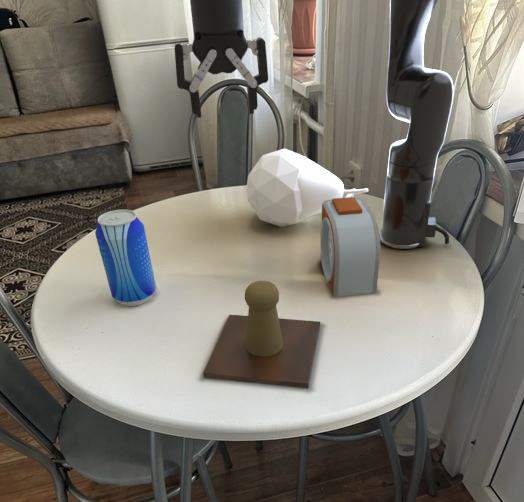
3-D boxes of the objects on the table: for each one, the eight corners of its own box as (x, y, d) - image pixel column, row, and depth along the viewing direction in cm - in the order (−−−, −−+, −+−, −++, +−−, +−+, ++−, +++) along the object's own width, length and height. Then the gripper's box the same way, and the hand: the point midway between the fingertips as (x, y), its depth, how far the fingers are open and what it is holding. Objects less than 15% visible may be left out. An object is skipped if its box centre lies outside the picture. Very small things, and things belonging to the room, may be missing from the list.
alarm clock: (317, 259, 105) (319, 196, 96) (357, 256, 105) (362, 192, 97) (331, 296, 93) (334, 228, 85) (376, 292, 93) (384, 224, 85)
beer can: (116, 286, 99) (96, 209, 89) (159, 283, 100) (143, 205, 90) (109, 310, 93) (87, 228, 83) (155, 306, 93) (138, 225, 83)
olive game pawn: (279, 358, 78) (277, 297, 71) (241, 354, 79) (236, 294, 72) (286, 335, 82) (285, 276, 76) (250, 332, 83) (246, 274, 77)
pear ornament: (240, 136, 108) (373, 140, 102) (262, 170, 130) (371, 174, 124) (233, 213, 109) (364, 221, 103) (255, 234, 131) (364, 241, 125)
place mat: (320, 326, 86) (320, 321, 85) (308, 388, 73) (308, 383, 73) (229, 319, 89) (229, 314, 88) (203, 377, 76) (202, 372, 76)
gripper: (165, -3, 69) (181, 124, 79) (268, -9, 70) (271, 116, 80) (166, -5, 75) (181, 113, 84) (261, -11, 76) (265, 106, 86)
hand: (225, 114), depth 82 cm, fingers open, 8 cm apart
